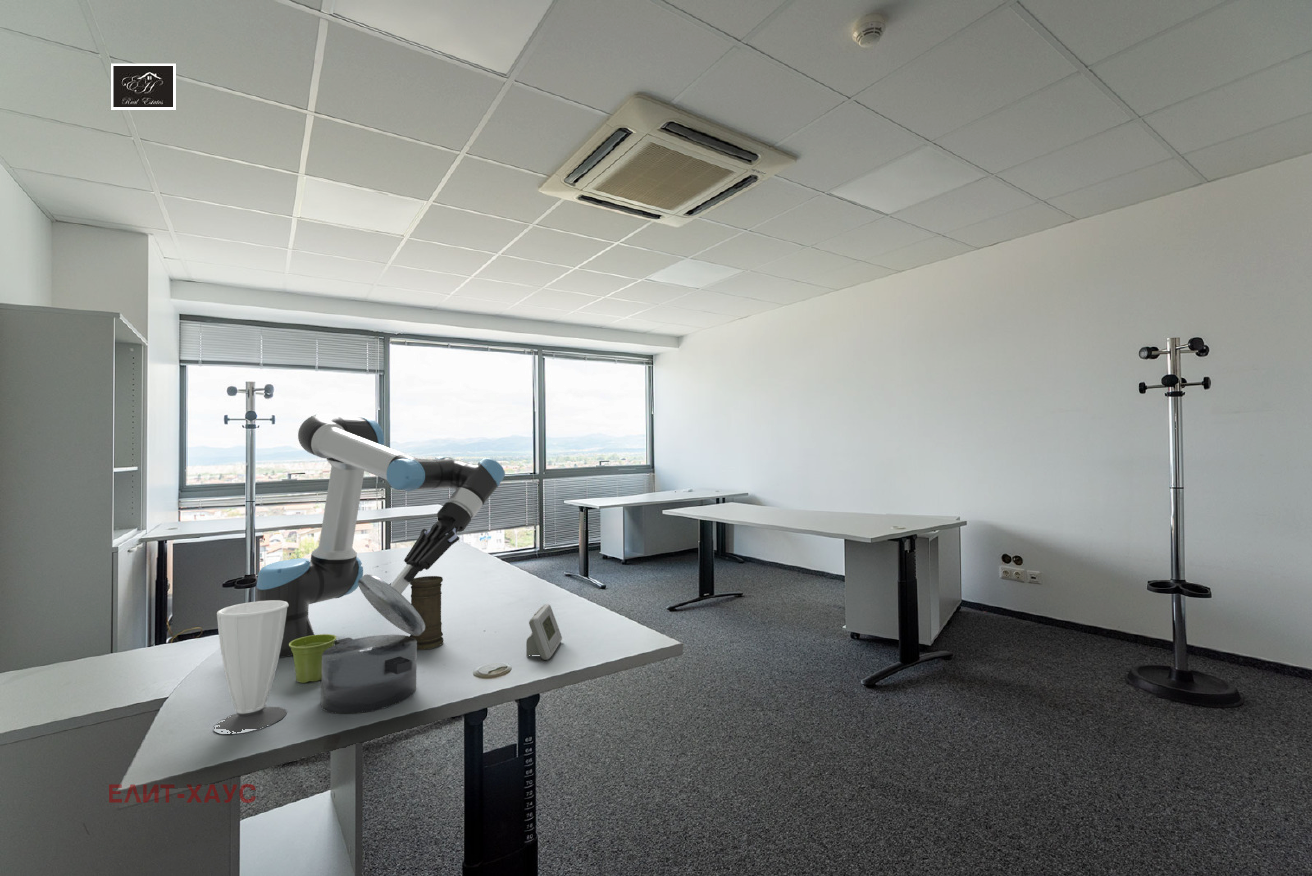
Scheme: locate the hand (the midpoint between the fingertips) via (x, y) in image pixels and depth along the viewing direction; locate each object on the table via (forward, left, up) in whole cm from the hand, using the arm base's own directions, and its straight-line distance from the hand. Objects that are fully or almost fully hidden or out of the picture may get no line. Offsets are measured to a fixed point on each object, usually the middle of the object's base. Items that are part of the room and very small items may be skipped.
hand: (393, 592), depth 121 cm
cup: (-8, -24, -21) cm, 33 cm away
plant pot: (-22, -7, -21) cm, 31 cm away
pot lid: (-1, 0, -3) cm, 4 cm away
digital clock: (+9, +37, -21) cm, 43 cm away
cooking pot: (-1, -4, -21) cm, 21 cm away
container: (-22, +21, -21) cm, 38 cm away
